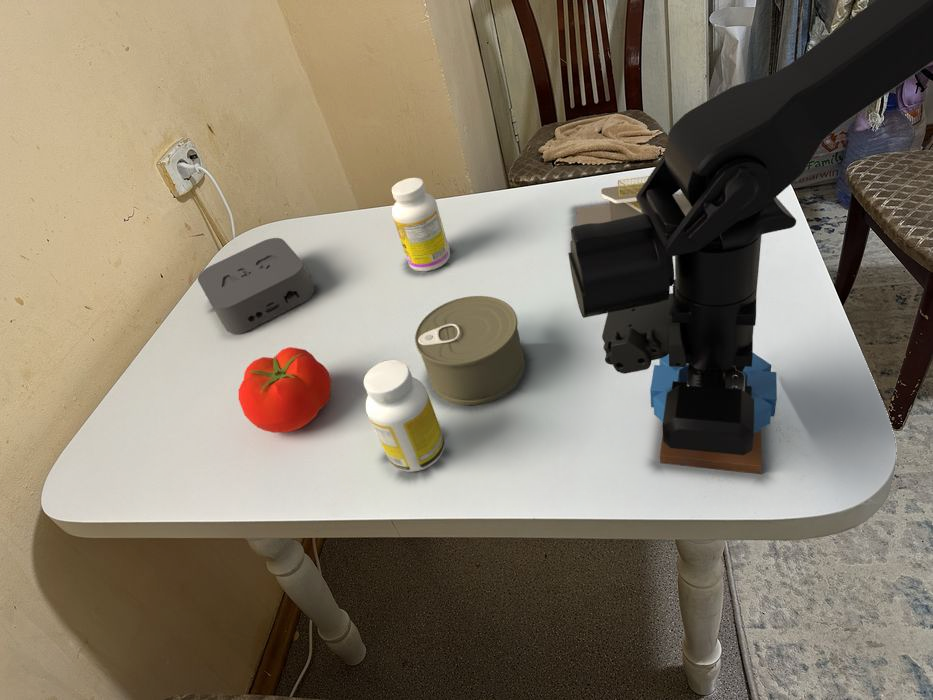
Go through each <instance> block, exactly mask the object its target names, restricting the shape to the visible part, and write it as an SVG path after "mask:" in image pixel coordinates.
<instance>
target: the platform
mask: <svg viewBox="0 0 933 700" xmlns="http://www.w3.org/2000/svg"><path fill="white" fill-rule="evenodd" d="M649 176H650V175H648V176H647V175H646V176H640V177H639V176H637V177H633V178H632V177H631V178H624V179H618V180H617V186H608V187H603V188H601V190H600V191H601V198H602V199H605V200H608V201H609V203H607V204H599V205H591V206H583V207H576V226H579V225H583V224H589V223H604V222H608V221H613V220H618V219H622V218H627V217H632V216H636V215H641V214H642V211H641V207H640V205H639V203H638V201H637V199H636V196H637V194H638V193H639V191H640V190H641V188H642V187H643V185H644V184H645V182H646V181H647V179H648V178H649ZM643 179H644V180H643ZM636 180H637V181H636ZM629 181H630V182H629ZM673 197H674V198H675V200H676V202H677V203H678V205H679V206H680V208H681V210H682V211H683V213H684V214H685V216H686V215H687V214H688V212H689V211H690V210H691V208H692V206H691V205H690V203H689V202H688V200H687V199H686V197H685V196H684V194H677V195H673Z"/></svg>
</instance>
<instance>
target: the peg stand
mask: <svg viewBox="0 0 933 700" xmlns="http://www.w3.org/2000/svg"><path fill="white" fill-rule="evenodd" d="M762 439H763V428H762V429H761V430H759V431H757V432H756V433H754V439H753V449H752V451H750V452H748V453H747V454H745V455H736V454H726V453H716V452H706V451H696V450H686V449H676V448H670V447H668V446H667V445H666V444H665V443H664V442H663V435H662V436H661V442H660V451H659V463H660V464H665V465H676V466H685V467H693V468H701V469H702V468H703V469H710V470H711V469H712V470H721V471H731V472H738V473H749V474H756V475H757V474H758V475H761V473H762V466H763V465H762V464H763V463H762V462H763V461H762V460H763V458H762V457H763V454H762V453H763V440H762Z"/></svg>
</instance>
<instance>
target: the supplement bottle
mask: <svg viewBox="0 0 933 700" xmlns="http://www.w3.org/2000/svg"><path fill="white" fill-rule="evenodd" d="M391 193H392V197H393V199H394V201H395V202H394V204H393V206H392V209H391V216H392V219H393V222H394V225H395V227H396V228H395V229H396V231H397V234H398V237H399V240H400V242H401V246H402V249H403V251H404V255H405V258H406V261H407V263H408V266H409V267H410V268H411V269H413V270H414V271H418V272H430V271H434V270H436V269H439V268H440V267H442V266H444V265H445V264H446V263H447V262H448V260H449V259H450V256H451V250H450V247H449V243H448V240H447V236H446V232H445V229H444V225H443V222H442V218H441V213H440V211H439V206H438V204H437V200H436V199H435V197H434V196H433V195H432V194H430V193H427V192H426V185H425V182H424V181H423V179H422V178H419V177H409V178H405V179H401V180H400V181H398V182H397V183H395V184H393V186H392V187H391Z"/></svg>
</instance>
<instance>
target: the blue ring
mask: <svg viewBox="0 0 933 700" xmlns="http://www.w3.org/2000/svg"><path fill="white" fill-rule="evenodd" d="M658 363H659V364H654V365H653V371H652V376H651V382H650V388H649V392H650V408H653V414H654V416H655V417H656V418H658V419H659V420H660V422H662V423H663V417H664V410H665V403H666V395H667V392H669V391H670V390H672V382H673V381H679V382H687V376H688V366H689V363H686V367H671V366H669V354H668V355H667V356H665V357H663V358H661V359H658ZM742 373H743V374H744V375H745V386H752V397H753V398H754V433H756V432H757V431H759V430H761V429H762V430H763V429H765V428H766V427H767V426H770V424H771V422H772V421H771V420H772V418H775V417H776V410H777V401H778V391H777V390H778V387H777V386H778V385H777V371H772V364H771V363H769V362H768V361H766V360H765V359H764V358H762V357H761V356H759V355H757V354H756V353H754V352H753V358H752V367H747V366H745V368H744V370H743V371H742Z"/></svg>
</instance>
